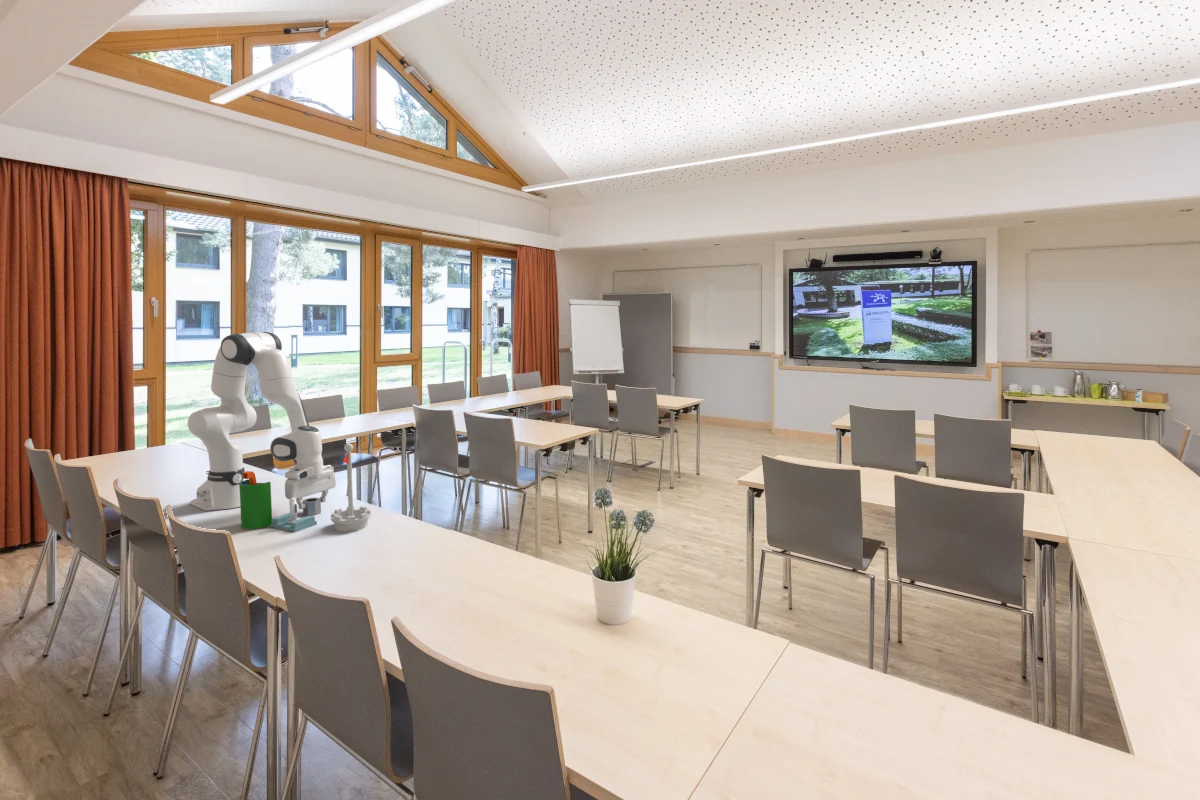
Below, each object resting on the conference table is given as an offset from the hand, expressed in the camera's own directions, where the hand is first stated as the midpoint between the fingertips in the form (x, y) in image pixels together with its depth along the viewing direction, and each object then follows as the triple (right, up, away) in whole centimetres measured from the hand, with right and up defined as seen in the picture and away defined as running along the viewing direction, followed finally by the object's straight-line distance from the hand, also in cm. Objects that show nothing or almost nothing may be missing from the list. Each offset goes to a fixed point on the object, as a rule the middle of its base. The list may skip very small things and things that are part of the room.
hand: (312, 505), depth 233 cm
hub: (0, -3, +1) cm, 3 cm away
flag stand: (+20, -5, -13) cm, 24 cm away
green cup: (-13, -5, -14) cm, 20 cm away
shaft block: (0, -5, -13) cm, 14 cm away
